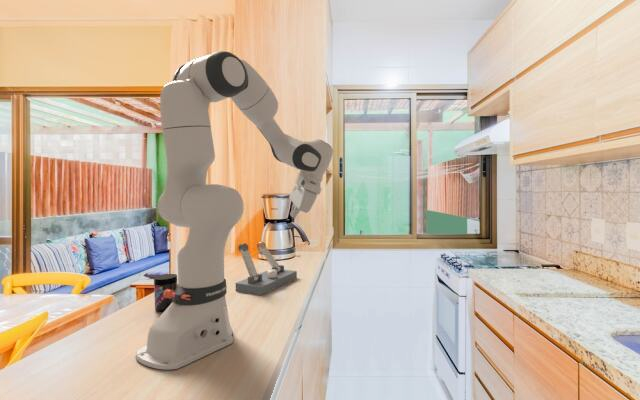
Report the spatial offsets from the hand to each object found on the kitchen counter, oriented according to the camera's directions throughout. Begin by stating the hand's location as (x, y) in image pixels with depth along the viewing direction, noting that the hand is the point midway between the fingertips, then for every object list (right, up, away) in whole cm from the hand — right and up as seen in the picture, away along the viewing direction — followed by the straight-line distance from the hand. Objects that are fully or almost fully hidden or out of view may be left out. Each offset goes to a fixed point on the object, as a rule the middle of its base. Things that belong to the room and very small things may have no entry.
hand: (292, 216), depth 119 cm
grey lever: (-14, -23, 0) cm, 27 cm away
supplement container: (-39, -29, -18) cm, 51 cm away
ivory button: (-8, -24, +5) cm, 26 cm away
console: (-10, -27, +7) cm, 30 cm away
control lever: (-7, -23, +13) cm, 27 cm away
